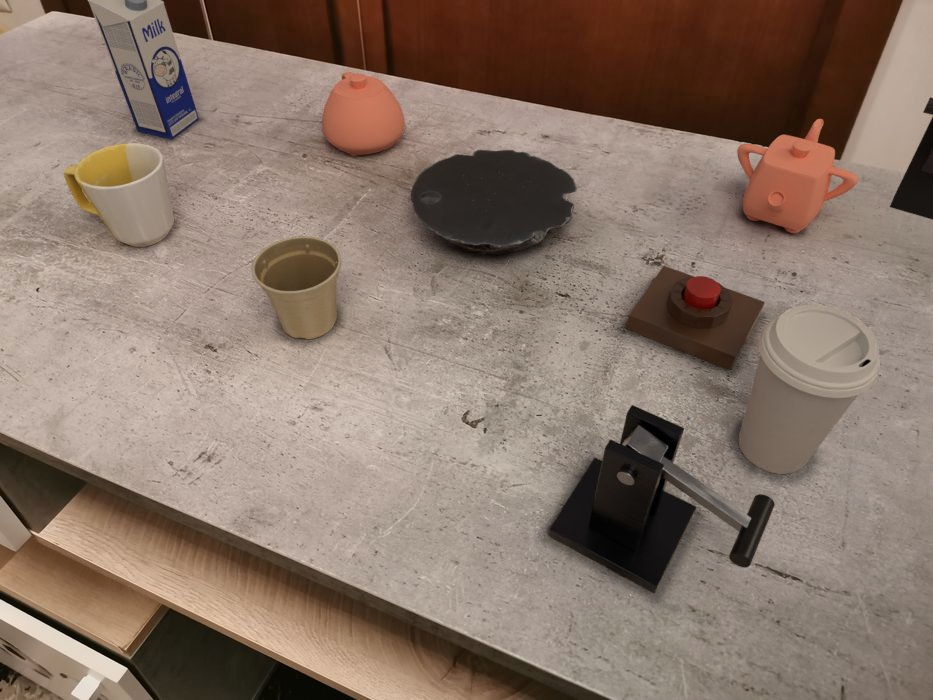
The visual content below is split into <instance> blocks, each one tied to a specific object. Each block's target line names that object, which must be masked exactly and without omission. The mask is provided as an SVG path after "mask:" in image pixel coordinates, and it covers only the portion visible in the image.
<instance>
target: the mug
mask: <svg viewBox="0 0 933 700" xmlns="http://www.w3.org/2000/svg"><path fill="white" fill-rule="evenodd" d="M63 176H64V179H65V182H66V185H67V188H68V190H69V191H70V194H71V195H72V197H73V199H74V201H75V203H76V204H77V205H78V206H79V208H80V209H81V210H83V212H86V213H89V214H92V215H94V216H99V217H100V219H101V220H102V222H103V223H104V225H105V226H106V228H107V229H108V231H109V232H110V234H111V235H112V236H113V238H114V239H115V240H117V241H118V242H121V243H123V244H126V245H128V246H131V247H135V248H136V247H137V248H143V247H149V246H153V245H155V244H158V243H160V242H161V241H163V240H164V239H165V238H166V237H167V236H168V234H169V233H170V231H171V230H172V228H173V226H174V222H175V215H174V210H173V205H172V200H171V194H170V188H169V187H170V186H169V183H168V176H167V170H166V165H165V159H164V156H163V154H162V152H161V151H160V150H159V149H157V148H156V147H155V146H152V145H149V144H145V143H139V142H129V143H128V142H127V143H119V144H114V145H109V146H106V147H103V148H102V147H101V148H100V149H97V150H95V151H93V152H91V153H89V154H88V155H86V156H85V157H83V158H82V159H81V160H80V161H79V162H78V164H72V165H69V166H67V167H66V168H65V169H64V171H63Z"/></svg>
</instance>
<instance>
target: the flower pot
mask: <svg viewBox="0 0 933 700" xmlns="http://www.w3.org/2000/svg"><path fill="white" fill-rule="evenodd" d="M341 267H342V255H341V252H340V250H339V249H338V248H337V247H336V246H335V245H334V244H333V243H332V242H330V241H328V240H326V239H323V238H320V237H317V236H309V235H300V236H290V237H286V238H282V239H280V240H277V241H274V242H272V243H271V244H269V245H268V246H266V247H264V248H263V249H262V250H260V251H259V252H258V254H257V255H256V256H255V257H254V259H253V261H252V264H251V273H252V274H251V275H252V277H253V280H254V281H255V283H256V284H257V285H258V286H259V287H261V289H262V290H263V292H264V293H265V294H266V295H267V297H268V299H269V301H270V303H271V305H272V308H273V310H274V312H275V314H276V316H277V319H278V320H279V322H280V326H281V327H282V329H283V331H284V332H285V333H286V334H287V335H289V336H290V337H292V338H295V339H298V338H302V339H305V340H306V339H307V340H312V339H316V338H320V337H322V336H324V335H326V334H327V333H329V332H330V331H331V330H332V329H333V328H334V326H335V323H336V322H337V317H338V315H337V279H338V276H339V272H340V270H341Z"/></svg>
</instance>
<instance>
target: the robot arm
mask: <svg viewBox="0 0 933 700" xmlns="http://www.w3.org/2000/svg"><path fill="white" fill-rule="evenodd" d="M922 113H923V114H928V115H931V116H932V117H931V119H930V121H929V123H928V125H927V127H926V130H925V131H924V133H923V136H922V137H921V139H920V141H919V143H918V146H917V147H916V149H915V152H914V154H913V156H912V158H911V160H910V162H909V165H908V166H907V169H906V170H905V172H904V175H903V177H902V179H901V181H900V183H899V185H898V187H897V189H896V191H895V193H894V196H893V197H892V200H891V203H890V205H889V208H891V209H895V210H898V211H901V212H905V213H907V214H912V215H915V216H919V217H922V218H926V219H929V220H933V97H929V99H928V101H927V103H926V105H925V107H924V109H923V112H922Z"/></svg>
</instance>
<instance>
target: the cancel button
mask: <svg viewBox="0 0 933 700" xmlns="http://www.w3.org/2000/svg"><path fill="white" fill-rule="evenodd" d="M717 282H718V281H717V280H715V279H713V278H712V277H708V276H704V275H697V276H694V277H693V278H691V279H689V280H688V282H687V284H686V288H685V292H684V296H683V297H684V300H685V302H686V303H687V304H688V305H690V306H692V307H695V308H698V309H711V308H713V307H714V306H715V305H716V304H717V301H718V298H719V295H720V291H721V288H720V285H719V284H718V283H719V282H718V283H717Z"/></svg>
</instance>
